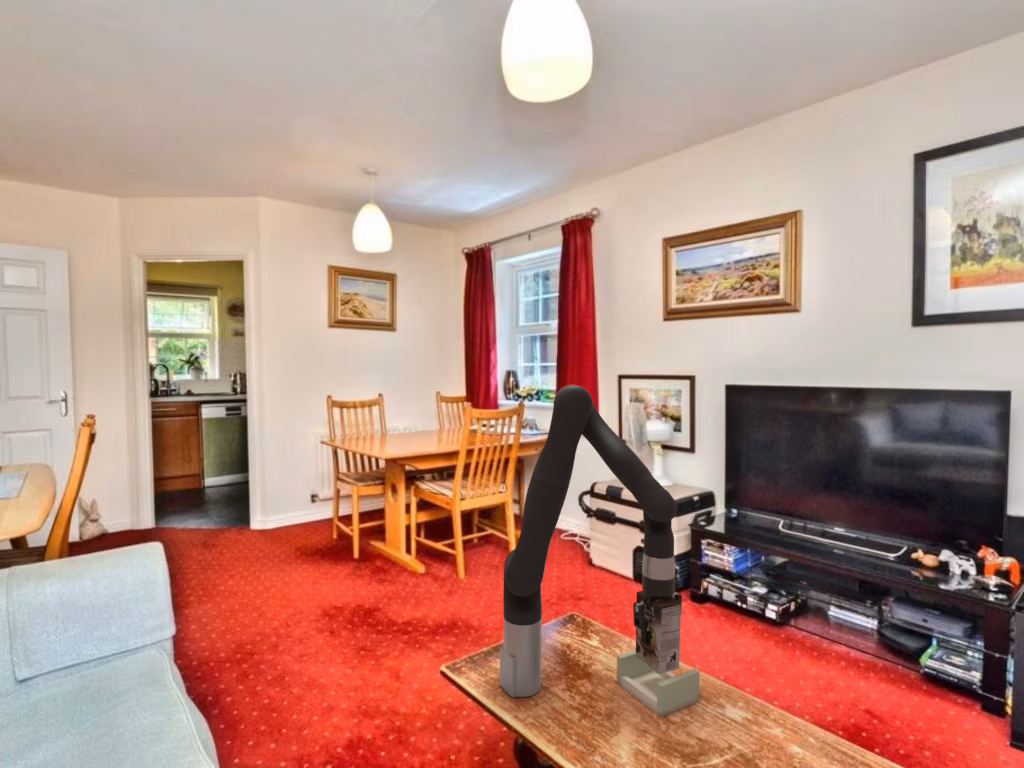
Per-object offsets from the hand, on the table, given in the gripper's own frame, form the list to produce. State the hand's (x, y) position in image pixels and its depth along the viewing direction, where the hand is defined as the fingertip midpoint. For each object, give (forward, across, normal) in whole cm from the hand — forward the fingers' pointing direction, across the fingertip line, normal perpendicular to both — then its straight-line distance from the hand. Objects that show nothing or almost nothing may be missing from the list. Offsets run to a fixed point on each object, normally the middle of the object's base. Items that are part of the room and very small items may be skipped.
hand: (657, 640), depth 133 cm
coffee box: (+5, 0, 0) cm, 5 cm away
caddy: (+13, 0, 0) cm, 13 cm away
